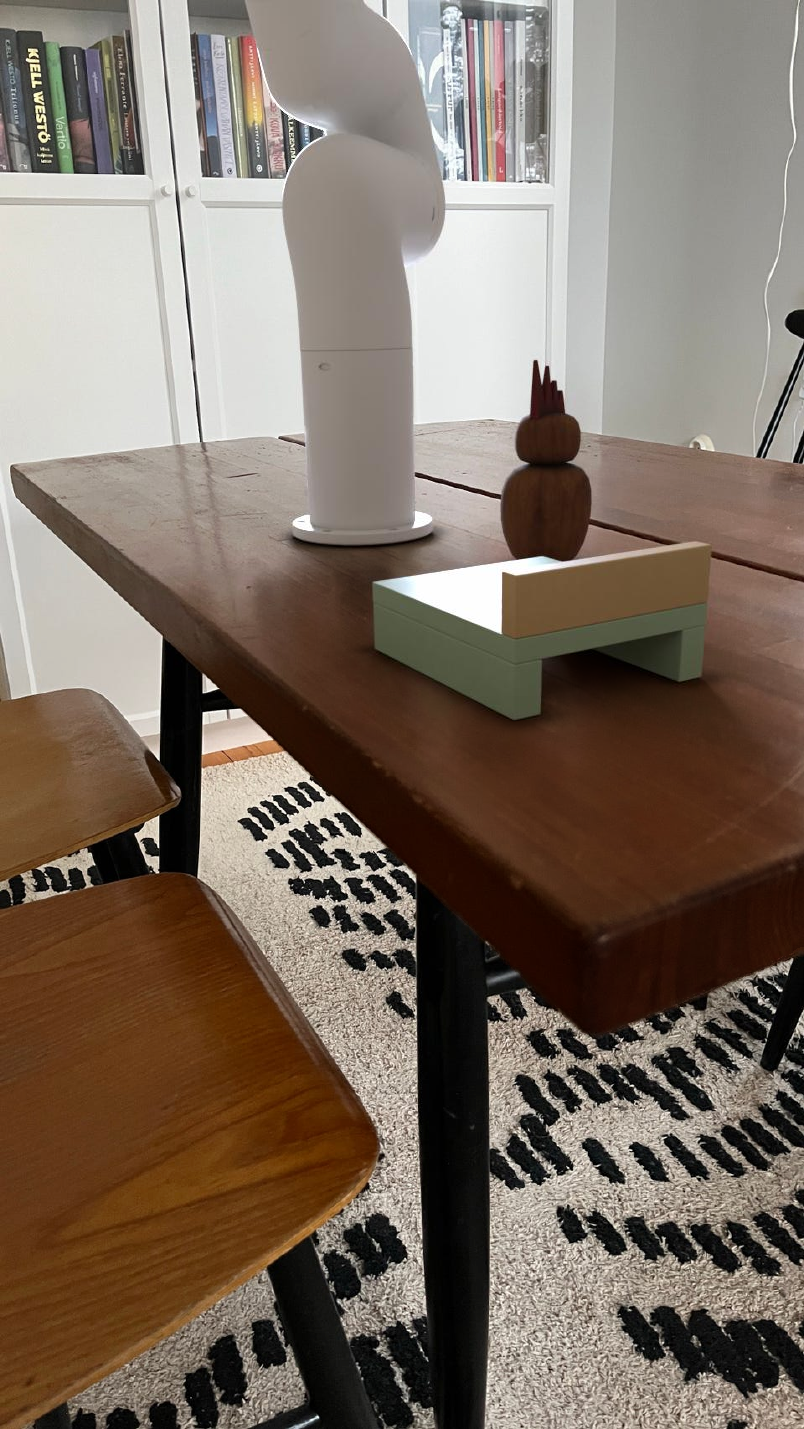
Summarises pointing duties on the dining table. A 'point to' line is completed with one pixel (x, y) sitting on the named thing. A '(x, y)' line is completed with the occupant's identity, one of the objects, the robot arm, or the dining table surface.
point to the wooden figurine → (546, 480)
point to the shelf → (546, 619)
